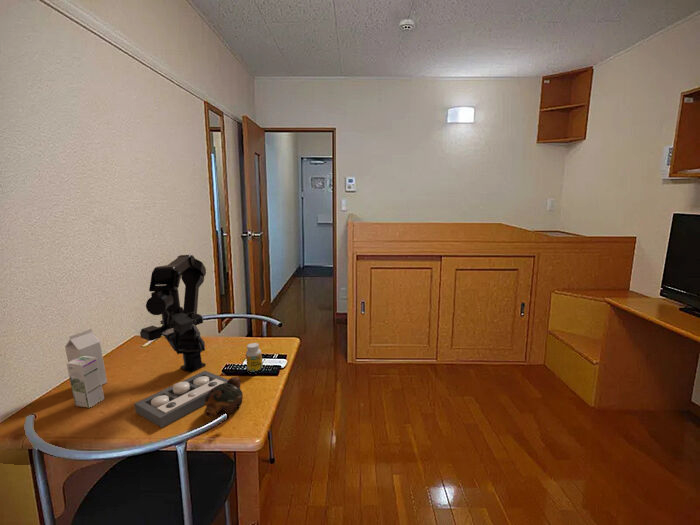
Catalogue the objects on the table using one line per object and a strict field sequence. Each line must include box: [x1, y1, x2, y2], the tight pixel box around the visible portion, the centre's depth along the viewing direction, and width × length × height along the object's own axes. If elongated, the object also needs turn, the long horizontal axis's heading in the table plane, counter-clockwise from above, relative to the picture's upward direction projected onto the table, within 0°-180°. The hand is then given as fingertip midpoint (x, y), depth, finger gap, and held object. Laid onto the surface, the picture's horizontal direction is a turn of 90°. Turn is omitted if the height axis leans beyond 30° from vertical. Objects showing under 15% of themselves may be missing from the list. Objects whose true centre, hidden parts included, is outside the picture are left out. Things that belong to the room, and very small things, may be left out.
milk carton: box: [64, 328, 108, 386], centre depth 133 cm, size 7×7×19 cm
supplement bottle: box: [245, 342, 264, 372], centre depth 141 cm, size 5×5×10 cm
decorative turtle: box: [203, 376, 244, 418], centre depth 117 cm, size 10×15×8 cm, turn 167°
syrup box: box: [66, 356, 105, 409], centre depth 123 cm, size 6×6×14 cm
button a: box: [151, 395, 169, 408], centre depth 119 cm, size 5×5×2 cm
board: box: [134, 370, 229, 428], centre depth 123 cm, size 14×24×4 cm, turn 145°
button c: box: [193, 376, 209, 387], centre depth 130 cm, size 5×5×2 cm
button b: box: [172, 381, 190, 395], centre depth 124 cm, size 5×5×2 cm
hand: (176, 350), depth 131 cm, fingers closed
